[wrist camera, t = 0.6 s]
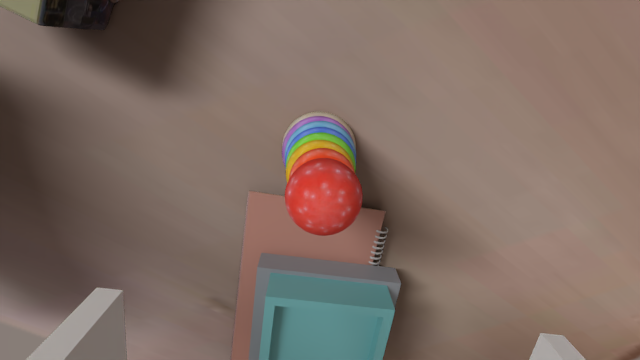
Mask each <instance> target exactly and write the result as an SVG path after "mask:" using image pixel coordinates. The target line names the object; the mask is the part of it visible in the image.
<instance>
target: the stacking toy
mask: <svg viewBox="0 0 640 360" xmlns="http://www.w3.org/2000/svg"><path fill="white" fill-rule="evenodd" d="M282 158H283V163H284V165H285V168H286V179H287V186H286V190H285V204H286V208H287V211H288V213H289V215H290V217H291V219H292V220H293V221H294V223H295V224H296V225H298V226H299V227H300V228H301V229H303V230H304V231H306V232H308V233H311V234H314V235H319V236H327V235H334V234H337V233H339V232H341V231H343V230H345V229H346V228H348V227H349V226H350V225H351V224H352V223H353V222H354V221H355V219H356V218H357V216H358V214H359V212H360V209H361V206H362V198H363V193H362V187H361V184H360V182H359V179H358V178H357V176H356V175H355V170H356V142H355V137H354V135H353V132H352V130H351V129H350V127H349V126H348V125H347V123H346V122H345V121H343V120H342V119H341V118H339V117H338V116H336V115H334V114H331V113H327V112H311V113H308V114H305V115H303V116H301V117H299V118H297V119H296V120H295V121H294V122H293V123H292V124H291V125H290V126H289V128H288V129H287V131H286V133H285V135H284V138H283V144H282Z"/></svg>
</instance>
